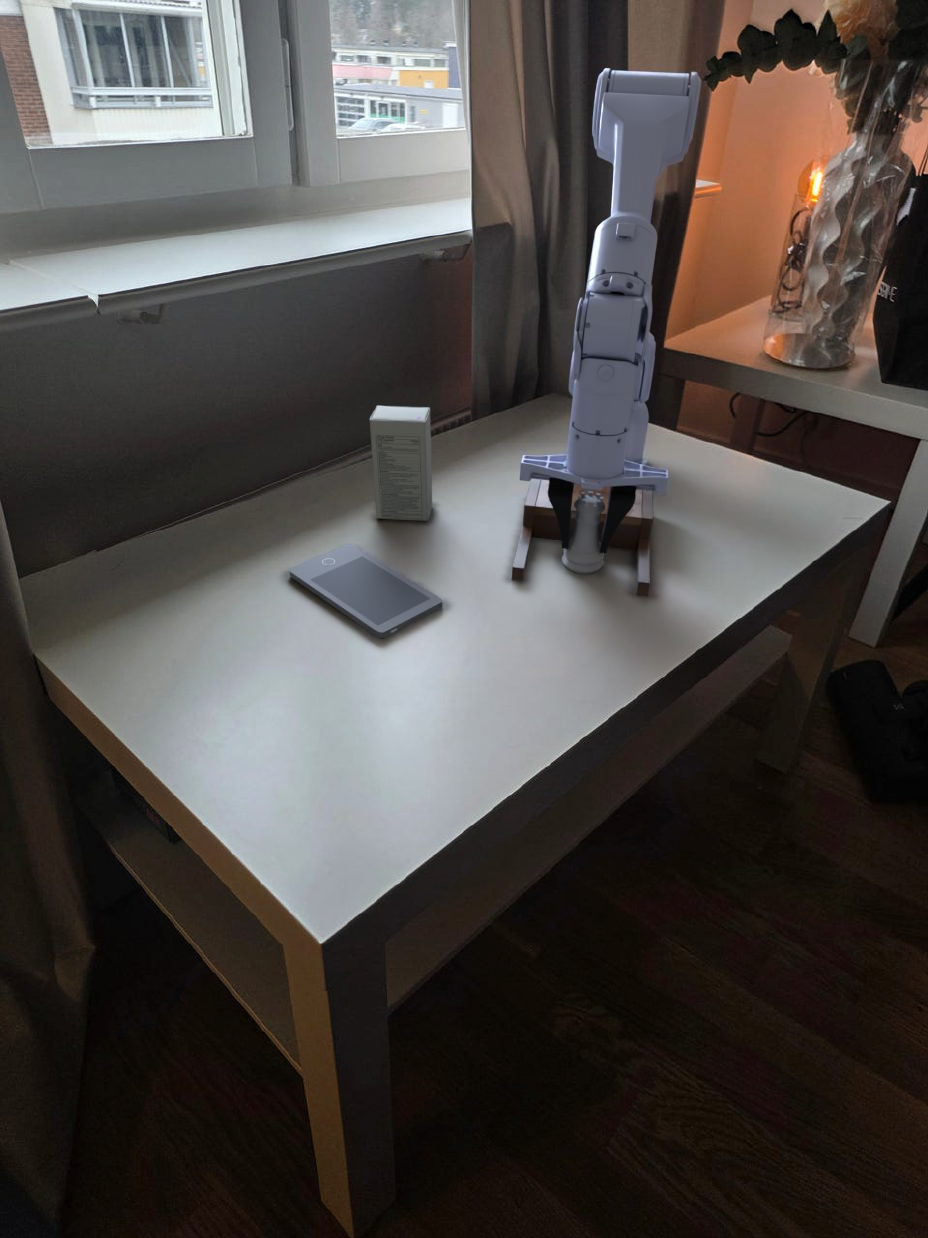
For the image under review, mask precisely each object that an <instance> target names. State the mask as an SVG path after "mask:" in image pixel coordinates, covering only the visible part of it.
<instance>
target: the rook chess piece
mask: <svg viewBox="0 0 928 1238" xmlns="http://www.w3.org/2000/svg"><path fill="white" fill-rule="evenodd" d="M574 507H575V508H576V510H577V511H578V512H577V514H576V515H575V520H576V525H575V529H574V532H573V536H572V538H571V539H570V540H569V546H568V549H563V555H562V556H561V561H562V564H564V565H565V568H567V569H568V570H570V571H571V572H573V573H578V574H585V575H586V574H593V573H595V572H597V571H598V570H600V569H601V568H602V567H603V565H604V559H603V558H605V553H600V547H601V543H600V542H599V530H598V529H599V523H600V522H601V521H602V518H601V517H600V514H601V513H602V512H603V511H604V510H605V508H606V505H605V504H604V502H603V497H601V494H599V493H597V494H596V496H593V492H591V491H588V495H586V496H585V492H582V493H580V495H579V496H578V499H577V500H576V501H575V502H574Z"/></svg>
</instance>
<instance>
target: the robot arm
mask: <svg viewBox="0 0 928 1238" xmlns="http://www.w3.org/2000/svg"><path fill="white" fill-rule="evenodd" d="M701 86H702V79H701V77H700V75H699V73H698V72H697V71H691V72H690V73H685V72H659V71H639V70H638V71H637V70H614V69H611V68H609V67H605V68H604V69H603V71H602V72H601V73H599V75H598V77H597V82H596V87H595V95H594V102H593V115H592V127H591V129H592V130H591V134H592V138H593V145H594V148H595V150H596V156H597V157H598V158H600V159H603V160H604V161H606V162H609V163H611V164H612V166H613V174H612V175H613V177H612V191H611V192H612V193H611V208H610V216H609V217H608V218H606V219H605V220H603V221H601V223H600V224H599V225H598V226H597V227H596V229H595V231H594V237H593V241H592V242H593V243H592V250H591V256H590V262H589V267H588V276H587V280H586V281H587V282H586V287H585V294H584V298H583V297H582V296H581V297H580V298H579V300H578V304H577V309H576V315H575V321H574V329H573V332H574V333H573V344H572V345H573V351H572V356H571V362H570V369H569V378H568V392H569V394H570V395H571V397H572V402H571V411H570V420H569V428H568V429H569V430H568V439H567V447H566V448H567V449H566V454H550V455H549V454H547V455H529V454H528V455H527V454H523V455H522V456H521V457H522V458H521V460H520V468H519V469H520V470H519V481H522V482H523V481H525V482H530V481H531V479H540V480H549V487H548V497H549V501H550V503H551V505H552V507H553V509H554V512H555V514H556V517H557V520H558V524H559V528H560V533H561V541H560V542H561V546H560V547H561V549H563V550H564V549H568V546H569V539H570V531H571V506H572V498H573V490H574V483H577V484H581V487H582V488H583V489H588V490H602V489H603V487H610V493H609V501H608V508H607V514H606V519H605V523H604V527H603V532H602V537H601V547H600V553H604V554H607V552H608V550H609V544H610V541H611V539H612V537H613V535H614V533H615V531H616V529H617V527H618V526H619V524H620V523H621V521H622V520H623V518H624V517H625V516H626V515H627V513H628V512H629V511H630V510H631V509H632V507H633V505H634V503H635V496H636V489H637V490H647V491H653V494H655V495H659V496H666V494H667V491H668V485H669V479H670V473H669V472H670V471H669V469H667V468H659V467H654V466H649V465H648V460H647V459H644V458H643V456H644V451H645V445H646V439H647V432H648V426H649V420H650V415H649V410H648V407H647V405H646V402H647V401H648V400H649V398H650V394H651V386H652V381H653V375H654V367H655V359H656V355H655V354H656V347H657V342H656V341H655V336H654V335H653V334H652V333H651V332H650V330H651V323H652V318H653V317H652V316H653V297H652V296H653V295H652V294H653V284H652V281H653V274H654V273H653V272H654V266H655V259H656V252H657V251H656V250H657V246H658V245H657V244H658V232H657V230H656V228H655V227H654V225H653V224H652V223H651V220H652V215H653V208H654V207H653V206H654V200H655V194H656V188H657V184H658V181H659V180H660V178H661V176H662V175H663V172H664V170H665V168H666V167H668V166H671V165H675V164H678V163H681V162H683V161H684V158H685V155H687V154H688V152H689V148H690V144H691V142H692V140H693V136H694V130H695V127H696V120H697V114H698V108H699V100H700V95H701V94H700V93H701V88H702V87H701Z"/></svg>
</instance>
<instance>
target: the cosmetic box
mask: <svg viewBox="0 0 928 1238" xmlns="http://www.w3.org/2000/svg"><path fill="white" fill-rule="evenodd" d="M431 422H432V421H431V407H429V406H427V407H425V406H405V405H404V406H401V405H376V407H375V409H373V412H372V414H371V415H370V417H369V431H370V445H371V447H370V448H371V460H372V472H373V474H372V475H373V489H374V490H373V491H374V503H375V504H374V505H375V518H376V519H380V520H381V519H382V520H398V521H399V520H401V521H402V520H403V521H423V522H425V521H426V522H428V521H429V518H430V516H431V512H432V509H433V470H432V469H433V466H432V464H433V463H432V428H431V427H432V426H431V424H432V423H431Z"/></svg>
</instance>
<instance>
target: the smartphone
mask: <svg viewBox="0 0 928 1238" xmlns="http://www.w3.org/2000/svg"><path fill="white" fill-rule="evenodd" d="M289 577H290V578H291V579H293V580H294V581H295V582H297V583H298V584H300V585H301V586H303V587H304V588H306V589H307V590H308V591H310V592H311V593H313V594H315V595H316V596H317V597H319V598H320V599H322V600H323V601H324V602H325V603H327V604H329V605H330V606H332V607H333V608H335V609H336V610H337V611H339V612H340V613H342V614H343V615H345V616H346V617H347V618H349V619H351V620H352V621H353V622H355V623H356V624H358V625H359V626H361V627H362V628H363V629H364V630H366V631H368V632H369V633H371V634H372V635H373V636H374V637H376V638H379V639H385V638H387V637H389V636H391V635H393V634H395V633H396V632H398V631H400V630H402V629H404V628H406V627H408V626H410V625H412V624H413V623H416V622H418V621H419V620H421V619H423V618H425V617H427V616H429V615H431V614H433V613H434V612H437V611H438V610H440V609H442V608H443V599H442V598H441V597H440V596H438V595H436V594H435V593H433V592H431V591H430V590H428V589H427V588H425V587H424V586H422V585H420V584H419V583H416V581H414V580H413V579H410V578H409V577H407V576H405V575H404V574H402V573H400V572H399V571H397V570H396V569H394V568H392V567H390V566H389V565H387V564H386V563H384V562H382V561H381V560H379V559H378V558H376V557H374V556H372V555H371V554H369V553H368V552H366V551H364V550H363V549H361V548H359V547H357V546H356V545H354V544H352V543H346V544H344V545H341V546H339V547H337V548H335V549H332V550H330V551H328V552H325V553H323V554H321V555H318V556H316V557H313V558H312V559H309V560H307V561H303V562H301V563H299V564H297V565H295V566H292V567H290V568H289Z"/></svg>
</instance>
